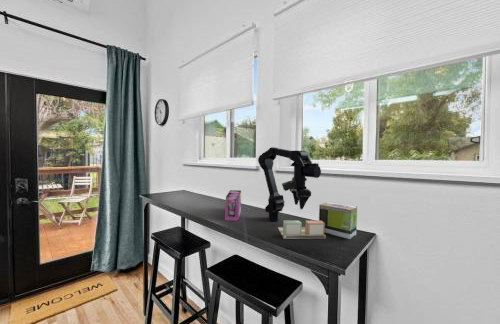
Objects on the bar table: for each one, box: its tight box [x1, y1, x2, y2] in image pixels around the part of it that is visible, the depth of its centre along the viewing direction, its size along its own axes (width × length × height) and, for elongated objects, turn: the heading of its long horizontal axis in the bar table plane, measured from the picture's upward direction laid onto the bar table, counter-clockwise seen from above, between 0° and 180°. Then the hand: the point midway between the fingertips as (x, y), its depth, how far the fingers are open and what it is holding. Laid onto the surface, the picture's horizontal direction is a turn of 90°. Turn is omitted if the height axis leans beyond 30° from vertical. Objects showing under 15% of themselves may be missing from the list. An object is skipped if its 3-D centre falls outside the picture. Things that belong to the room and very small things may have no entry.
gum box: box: [224, 189, 242, 222], centre depth 136 cm, size 24×8×14 cm, turn 179°
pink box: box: [304, 220, 325, 235], centre depth 102 cm, size 4×8×6 cm, turn 94°
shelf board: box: [277, 226, 327, 240], centre depth 106 cm, size 15×19×3 cm
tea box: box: [318, 201, 358, 240], centre depth 107 cm, size 15×10×15 cm, turn 48°
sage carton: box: [282, 219, 303, 235], centre depth 101 cm, size 4×8×6 cm, turn 93°
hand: (298, 206), depth 111 cm, fingers open, 9 cm apart
